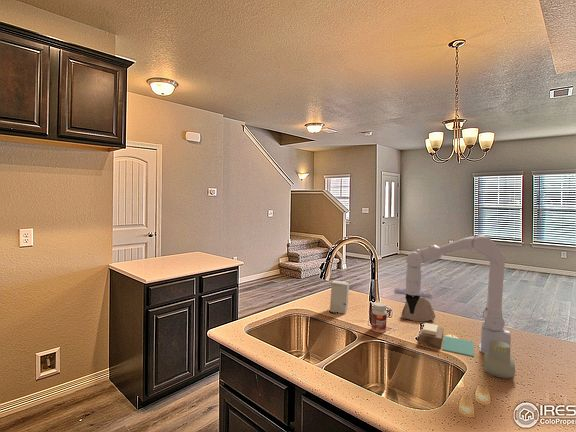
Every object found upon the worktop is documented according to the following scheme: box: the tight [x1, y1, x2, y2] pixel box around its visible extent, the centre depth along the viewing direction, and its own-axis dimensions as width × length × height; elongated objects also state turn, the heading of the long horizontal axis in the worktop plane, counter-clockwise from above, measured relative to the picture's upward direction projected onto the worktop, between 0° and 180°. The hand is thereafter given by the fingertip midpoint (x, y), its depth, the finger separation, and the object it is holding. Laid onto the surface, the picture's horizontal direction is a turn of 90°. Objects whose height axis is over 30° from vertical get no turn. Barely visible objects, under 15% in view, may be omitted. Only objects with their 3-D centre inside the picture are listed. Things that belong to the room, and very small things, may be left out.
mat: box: [441, 335, 475, 358], centre depth 130 cm, size 10×14×1 cm
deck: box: [418, 323, 444, 350], centre depth 135 cm, size 8×12×4 cm, turn 152°
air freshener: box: [483, 340, 516, 379], centre depth 110 cm, size 11×8×10 cm
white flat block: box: [422, 322, 439, 335], centre depth 135 cm, size 5×8×2 cm, turn 152°
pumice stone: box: [401, 297, 436, 322], centre depth 159 cm, size 15×8×10 cm, turn 74°
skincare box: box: [329, 280, 350, 315], centre depth 168 cm, size 8×6×15 cm
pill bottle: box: [371, 302, 388, 333], centre depth 145 cm, size 6×6×11 cm
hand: (412, 313), depth 139 cm, fingers closed
